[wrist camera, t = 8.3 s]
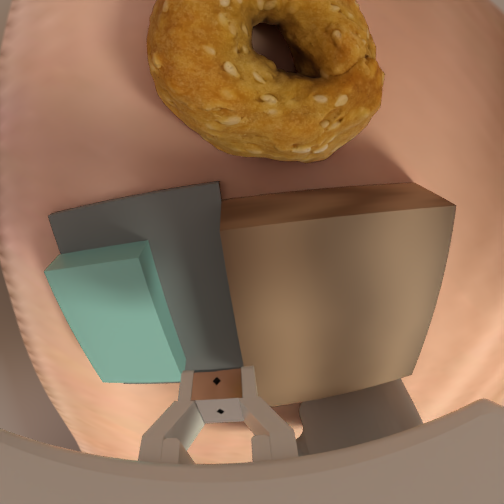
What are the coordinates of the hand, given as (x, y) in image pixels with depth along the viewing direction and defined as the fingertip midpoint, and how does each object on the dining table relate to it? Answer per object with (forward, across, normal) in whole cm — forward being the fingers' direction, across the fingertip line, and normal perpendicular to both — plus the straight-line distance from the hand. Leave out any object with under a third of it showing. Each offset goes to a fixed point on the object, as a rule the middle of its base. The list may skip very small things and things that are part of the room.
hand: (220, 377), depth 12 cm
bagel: (+7, -4, -12) cm, 15 cm away
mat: (+6, +4, +1) cm, 8 cm away
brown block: (+6, -6, 0) cm, 9 cm away
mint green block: (+4, +6, +1) cm, 8 cm away
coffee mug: (+7, -8, +14) cm, 18 cm away
